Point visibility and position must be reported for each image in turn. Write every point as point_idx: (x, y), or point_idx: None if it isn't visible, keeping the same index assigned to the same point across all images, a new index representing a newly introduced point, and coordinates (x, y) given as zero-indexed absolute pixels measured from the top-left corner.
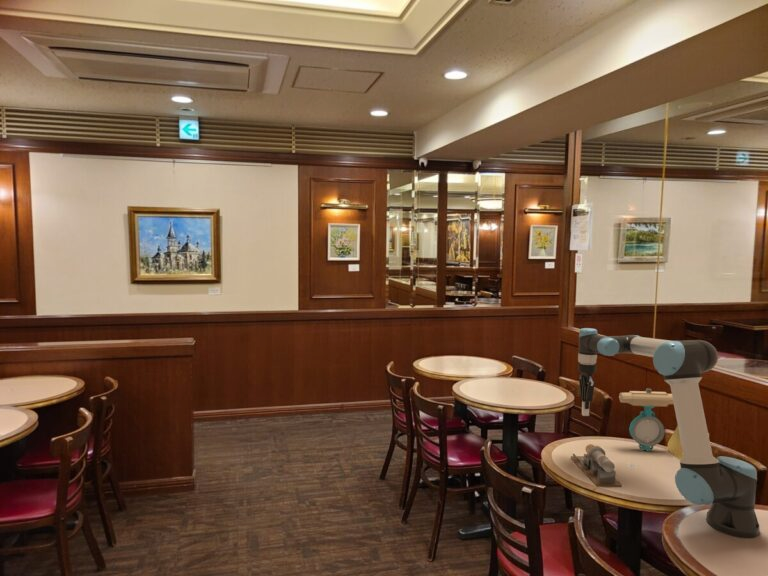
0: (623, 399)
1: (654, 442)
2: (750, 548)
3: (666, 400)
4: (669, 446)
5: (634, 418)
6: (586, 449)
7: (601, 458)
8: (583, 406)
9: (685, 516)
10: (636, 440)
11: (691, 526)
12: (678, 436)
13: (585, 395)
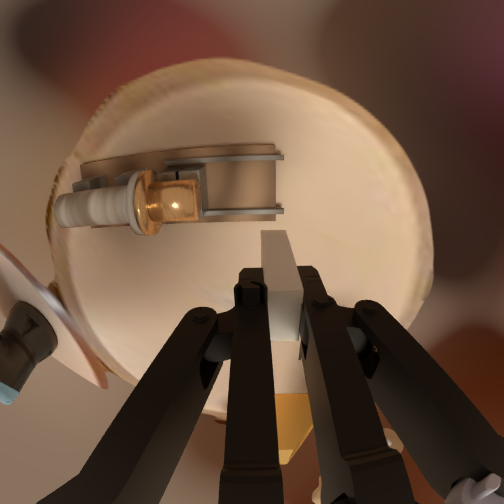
0: None
1: None
2: (5, 312)
3: (318, 491)
4: None
5: None
6: (185, 180)
7: (79, 201)
8: (263, 264)
9: (34, 286)
10: None
11: (14, 277)
12: (284, 431)
13: (231, 353)
